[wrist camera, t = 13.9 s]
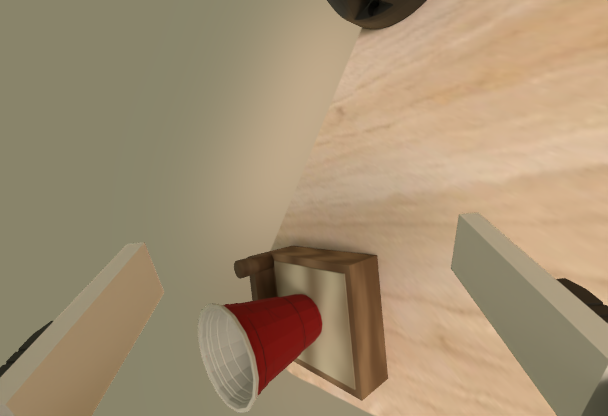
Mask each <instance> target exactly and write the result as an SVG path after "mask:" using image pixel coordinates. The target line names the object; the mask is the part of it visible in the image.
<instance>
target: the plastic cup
mask: <svg viewBox="0 0 608 416" xmlns="http://www.w3.org/2000/svg"><path fill="white" fill-rule="evenodd" d="M321 332H322V319H321V314H320V312H319V309H318V307H317V305H316V304H315V303H314V301H313V300H312V299H311V298H309V297H308V296H307V295H303V294H293V295H288V296H283V297H272V298H267V299H261V300H256V301H250V302H245V303H235V304H230V305H229V304H225V305H219V304H213V303H212V304H208V305H207V306H206V307H205V308H204V309H202V311H201V314H200V317H199V320H198V341H199V346H200V352H201V357H202V360H203V363H204V366H205V368H206V372H207V375H208V376H209V379H210V381H211V382H212V384H213V386H214V388H215V390H216V392H217V393H218V395H219V396H220V397H221V398H222V400H223V401H224V402H225V403H226V405H227V406H228V407H230V408H232V409H233V410H235V411H236V412H238V413H240V412H247V411H249V410H250V408H251V407H252V405H253V404H254V402H255V400H256V399H257V397H258V395H259V394H260V393H261V391H262V390H263V389H264V388H265V387H266V386H267V385H268V383H269V382H270V381H271V380H272V379H274V378H275V377H276V376H277V375H278V374H279V373H280V372H281V371H283V370H284V369H285V368H286V367H287V366H288V365H289V364H290V363H292V362H293V361H294V360H295V359H296V358H297V357H298V356H299V355H301V353H302V352H303V351H304V350H305V349H306V348H307V347H309V346H310V345H311V344H312V343H313V342H315V341H316V339H317V338H318V337H319V335H320V334H321Z"/></svg>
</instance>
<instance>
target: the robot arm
mask: <svg viewBox="0 0 608 416" xmlns="http://www.w3.org/2000/svg"><path fill="white" fill-rule="evenodd" d="M327 1H328V2H329V4H330V5H331V6H332V7H333V9H334V10H335V11H336V12H337V13H338V14H339V15H340V16H341V17H342V18H344V19H346V20H347V21H349V22H351V23H354V24H356V25H358V26H360V27H363V28H367V29H378V28H384V27H387V26H390V25H393V24H395V23H397V22H399V21H401V20H402V19H404V18H406V17H407V16H409V15H410V14H411V13H413V12H414V11H415V10H416V9H418V8H419V7H420V6H421V5H422V4H423V3H424V2H425V1H426V0H327ZM451 269H452V271H453V272H454V273H455V275H456V276H457V278H458V279H459V280H460V282H461V283H462V285H463V286H464V287H465V289H466V290H467V291H468V293H469V294H470V296H471V297H472V298H473V300H474V301H475V303H476V304H477V305H478V307H479V308H480V309H481V311H482V312H483V314H484V315H485V316H486V318H487V319H488V321H489V322H490V323H491V325H492V326H493V327H494V329H495V330H496V332H497V333H498V334H499V336H500V337H501V339H502V340H503V341H504V343H505V344H506V345H507V347H508V348H509V350H510V351H511V352H512V354H513V355H514V357H515V358H516V359H517V361H518V362H519V363H520V365H521V366H522V368H523V369H524V370H525V372H526V373H527V375H528V376H529V377H530V379H531V380H532V382H533V383H534V384H535V386H536V387H537V388H538V390H539V391H540V393H541V394H542V395H543V397H544V398H545V400H546V401H547V402H548V404H549V405H550V406H551V408H552V409H553V411H554V412H555V413H556V415H557V416H608V306H607V305H603V302H602V301H601V300H599V299H598V298H597V297H596V296H594V295H593V294H592V293H591V292H589V291H588V290H587V289H585V288H583V287H581V286H579V285H577V284H575V283H573V282H572V281H570V280H568V279H566V278H564V279H555V278H554V277H553V276H552V275H550V274H549V273H548V272H547V271H546V270H545V269H543V268H542V267H541V266H540V265H539V264H538V263H536V262H535V261H534V260H533V259H532V258H531V257H529V256H528V255H527V254H526V253H525V252H524V251H522V250H521V249H520V248H519V247H518V246H517V245H515V244H514V243H513V242H512V241H511V240H510V239H508V238H507V237H506V236H505V235H504V234H503V233H501V232H500V231H499V230H498V229H497V228H496V227H494V226H493V225H492V224H491V223H490V222H489V221H487V220H486V219H485V218H484V217H483V216H482V215H480V214H479V213H467V214H459V218H458V225H457V231H456V238H455V245H454V251H453V258H452V265H451ZM163 294H164V290H163V288H162V285H161V283H160V280H159V278H158V275H157V273H156V270H155V268H154V265H153V263H152V260H151V258H150V255H149V252H148V250H147V247H146V245H145V243H144V242H143V243H132V244H126V245H125V247H124V248H123V249H122V250H121V251H120V252H119V253H118V254H117V255H116V256H115V257H114V258H113V259H112V260H111V261H110V262H109V263H108V265H107V266H106V267H105V268H104V269H103V270H102V271H101V272H100V273H99V274H98V275H97V276H96V277H95V278H94V279H93V280H92V281H91V282H90V284H88V286H87V287H86V288H85V289H84V290H83V291H82V292H81V293H80V294H79V295H78V296H77V297H76V298H75V299H74V300H73V301H72V302H71V303H70V305H69V306H68V307H67V308H66V309H65V310H64V311H63V312H62V313H61V314H60V315H59V316H58V317H57V319H55V320H54V321H51V322H49V323H48V324H47V325H45V326H44V327H42V328H41V329H40V330H38V331H37V332H35V333H34V334H33V335H32V336H31V337H30V338H29V339H28V340H27V341H26V342H25V343H24V344H23V345H22V346H21V347H20V348H19V351H18V352H15V353H14V354H13V355H12V356H11V357H10V358H9V359H8V360H7V361H6V362H7V363H6V365H2V366H1V367H0V416H92V415H93V413H94V411H95V409H96V408H97V406H98V404H99V403H100V401H101V399H102V398H103V396H104V394H105V392H106V391H107V389H108V387H109V385H110V384H111V382H112V380H113V379H114V377H115V375H116V374H117V372H118V370H119V368H120V367H121V365H122V364H123V362H124V360H125V358H126V357H127V355H128V353H129V352H130V350H131V348H132V347H133V345H134V343H135V341H136V340H137V338H138V336H139V334H140V333H141V331H142V329H143V328H144V326H145V324H146V323H147V321H148V319H149V318H150V316H151V314H152V312H153V311H154V309H155V307H156V306H157V304H158V302H159V300H160V299H161V297H162V296H163Z"/></svg>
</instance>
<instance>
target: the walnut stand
mask: <svg viewBox="0 0 608 416" xmlns="http://www.w3.org/2000/svg"><path fill="white" fill-rule="evenodd" d="M234 270H235V273H236V275H237V277H238V278H244V277H247V276H250V282H251V291H252V300H253V301H256V300H261V299H267V298H272V297H283V296H288V295H293V294H303V295H307V296H308V297H309V298H311V299H312V300H313V301H314V303H315V304H316V305H317V307H318V309H319V312H320V314H321V319H322V332H321V334H320V335H319V337H318V338H317V339H316V341H315V342H313V343H312V344H311V345H310V346H309V347H307V348H306V349H305V350H304V351H303V352H302V353H301V355H299V356H298V357H297V358H296V359H295V360H294V362H296V363H297V364H299V365H301V366H303V367H304V368H306V369H308V370H310V371H311V372H313V373H315V374H317V375H318V376H320V377H322V378H323V379H325V380H327V381H329V382H330V383H332V384H334V385H336V386H337V387H339V388H341V389H343V390H344V391H346V392H348V393H349V394H351V395H353V396H355V397H356V398H358V399H360V400H363V399H365V398H366V397H367V396H368V395H369V394H370V393H372V392H373V391H374V390H375V389H376V388H377V387H379V386H380V385H381V384H382V383H383V382H384V381H386V380H387V379H388V374H387V363H386V352H385V340H384V329H383V318H382V306H381V295H380V284H379V273H378V261H377V255H368V254H359V253H350V252H341V251H333V250H324V249H315V248H306V247H298V246H289V247H285V248H281V249H277V250H273V251H269V252H265V253H261V254H257V255H254V256H250V257H248V258H246V259H242V260H238V261H235V263H234Z"/></svg>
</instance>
